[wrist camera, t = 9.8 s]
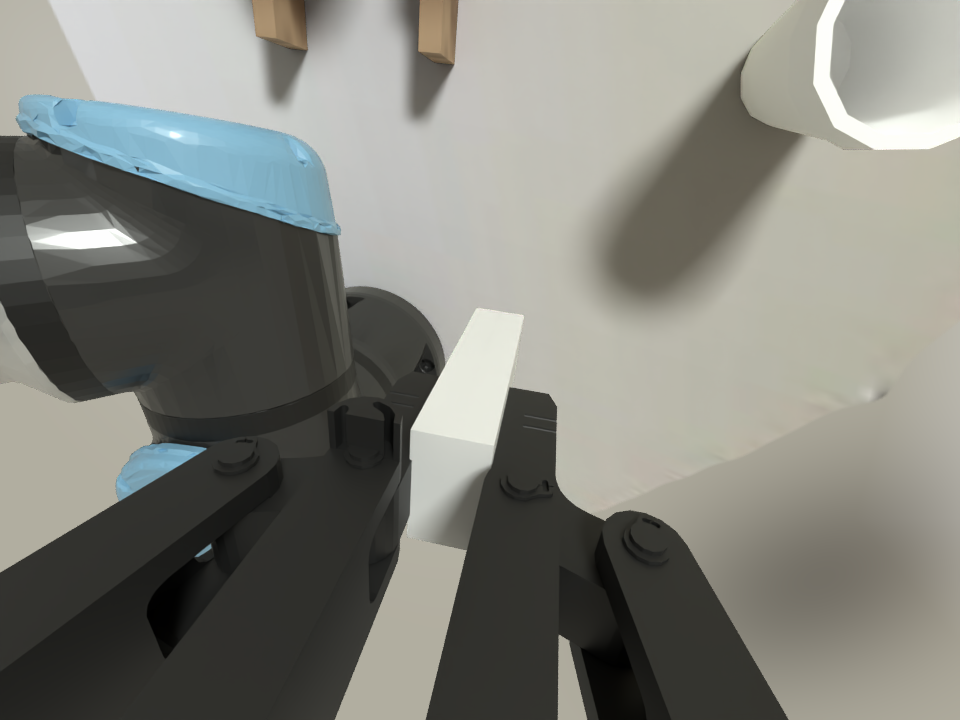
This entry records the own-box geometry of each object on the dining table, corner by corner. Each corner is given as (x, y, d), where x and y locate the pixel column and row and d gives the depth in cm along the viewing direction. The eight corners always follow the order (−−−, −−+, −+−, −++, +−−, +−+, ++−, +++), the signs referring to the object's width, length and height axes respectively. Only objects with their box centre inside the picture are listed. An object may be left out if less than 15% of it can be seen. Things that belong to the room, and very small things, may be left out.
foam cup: (867, -58, 25) (1127, -233, 14) (887, 105, 28) (1113, 74, 17) (698, 37, 28) (791, -39, 17) (732, 174, 31) (831, 188, 20)
